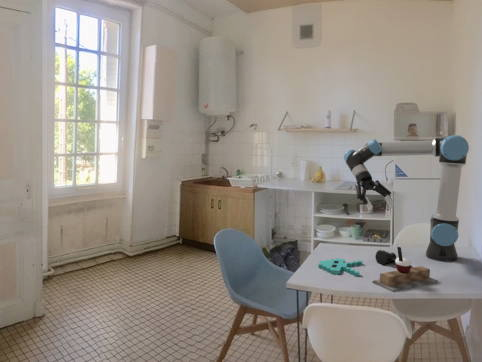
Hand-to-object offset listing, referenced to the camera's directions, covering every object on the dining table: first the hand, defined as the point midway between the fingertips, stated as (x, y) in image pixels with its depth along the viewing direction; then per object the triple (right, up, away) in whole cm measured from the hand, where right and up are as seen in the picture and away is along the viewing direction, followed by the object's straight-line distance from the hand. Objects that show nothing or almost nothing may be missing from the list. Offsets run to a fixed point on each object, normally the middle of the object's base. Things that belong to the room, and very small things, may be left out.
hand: (382, 207), depth 197 cm
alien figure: (-20, -31, +2) cm, 37 cm away
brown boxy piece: (+3, -32, -19) cm, 37 cm away
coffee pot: (+8, -30, +4) cm, 31 cm away
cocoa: (+2, -27, -20) cm, 34 cm away
